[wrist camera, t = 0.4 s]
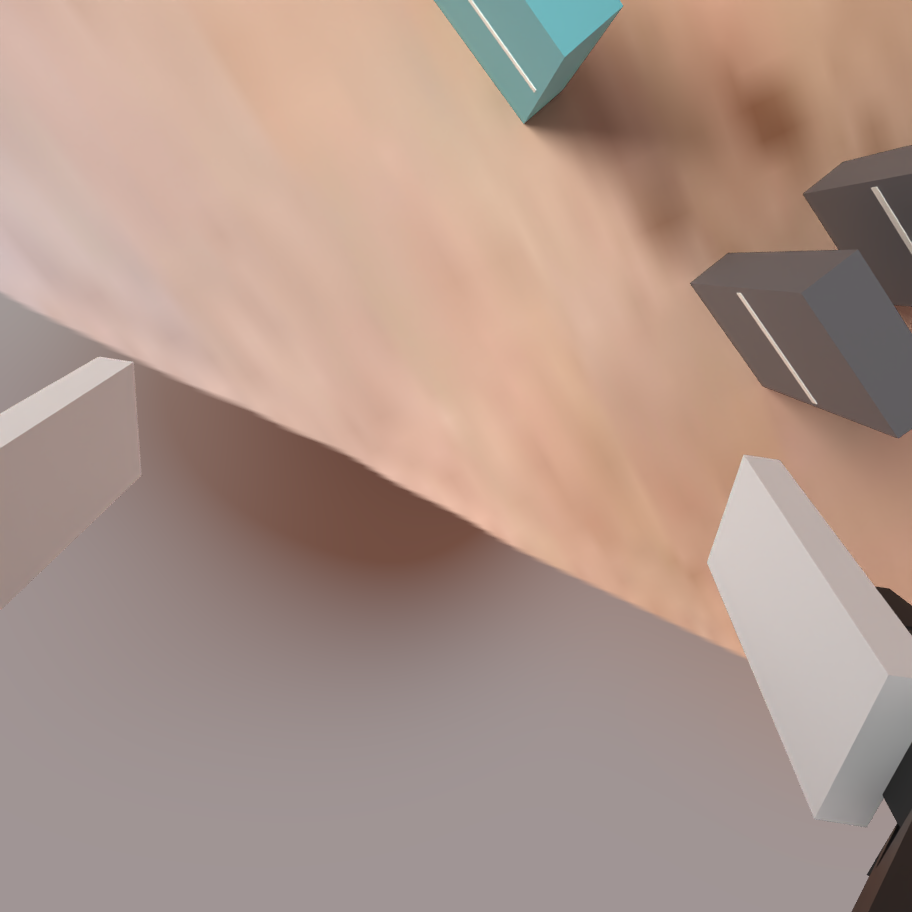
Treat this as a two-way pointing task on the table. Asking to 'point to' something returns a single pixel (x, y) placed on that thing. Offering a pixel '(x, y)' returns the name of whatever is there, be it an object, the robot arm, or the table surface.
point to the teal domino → (530, 42)
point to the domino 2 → (872, 215)
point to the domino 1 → (816, 331)
